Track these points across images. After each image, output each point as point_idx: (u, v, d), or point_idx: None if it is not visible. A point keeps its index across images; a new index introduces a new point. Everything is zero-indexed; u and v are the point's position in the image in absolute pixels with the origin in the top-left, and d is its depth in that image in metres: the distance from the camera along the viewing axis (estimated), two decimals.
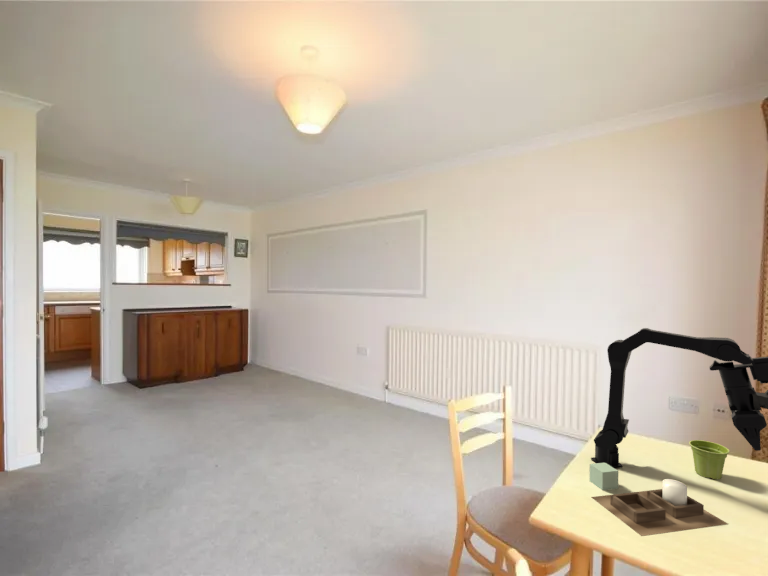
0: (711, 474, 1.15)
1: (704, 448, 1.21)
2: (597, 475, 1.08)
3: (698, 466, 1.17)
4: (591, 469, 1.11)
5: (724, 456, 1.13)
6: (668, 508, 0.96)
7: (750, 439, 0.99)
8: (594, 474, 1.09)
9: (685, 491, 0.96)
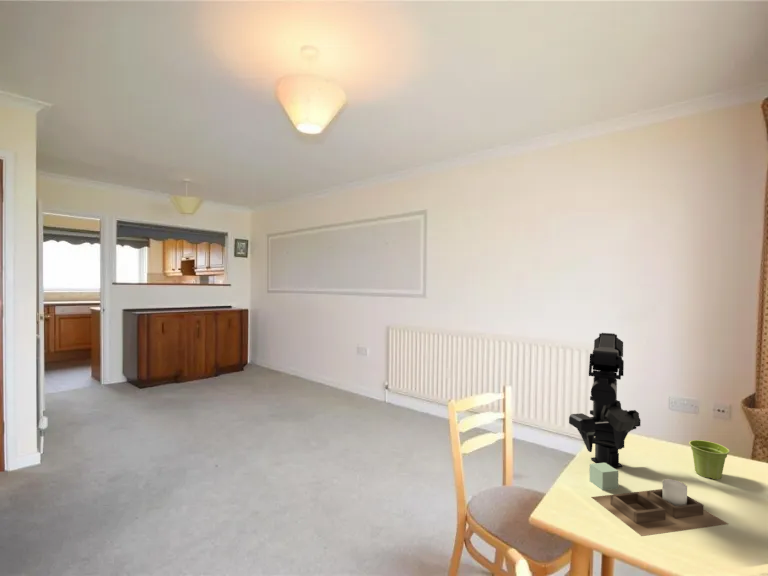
0: (711, 474, 1.15)
1: (704, 448, 1.21)
2: (597, 475, 1.08)
3: (698, 466, 1.17)
4: (591, 469, 1.11)
5: (724, 456, 1.13)
6: (668, 508, 0.96)
7: (584, 440, 1.09)
8: (594, 474, 1.09)
9: (685, 491, 0.96)
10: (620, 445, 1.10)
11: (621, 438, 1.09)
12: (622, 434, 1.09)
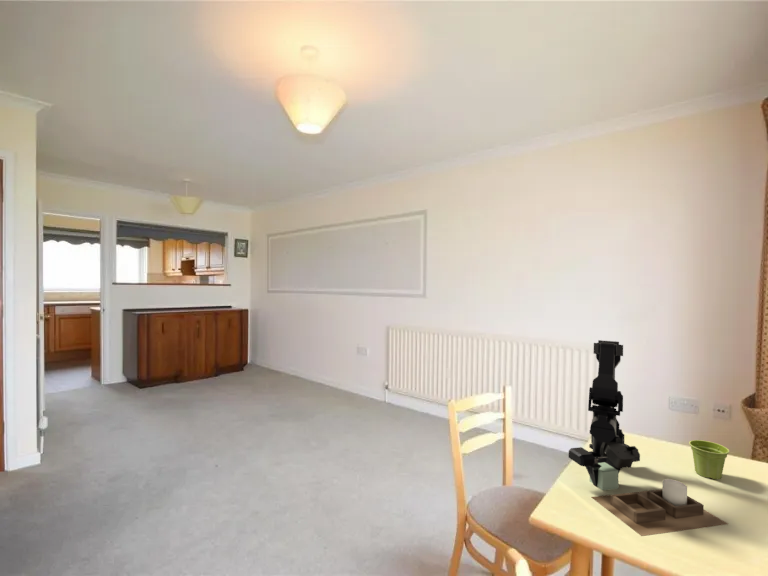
0: (711, 474, 1.15)
1: (704, 448, 1.21)
2: None
3: (698, 466, 1.17)
4: None
5: (724, 456, 1.13)
6: (668, 508, 0.96)
7: (590, 473, 1.10)
8: None
9: (685, 491, 0.96)
10: None
11: None
12: None
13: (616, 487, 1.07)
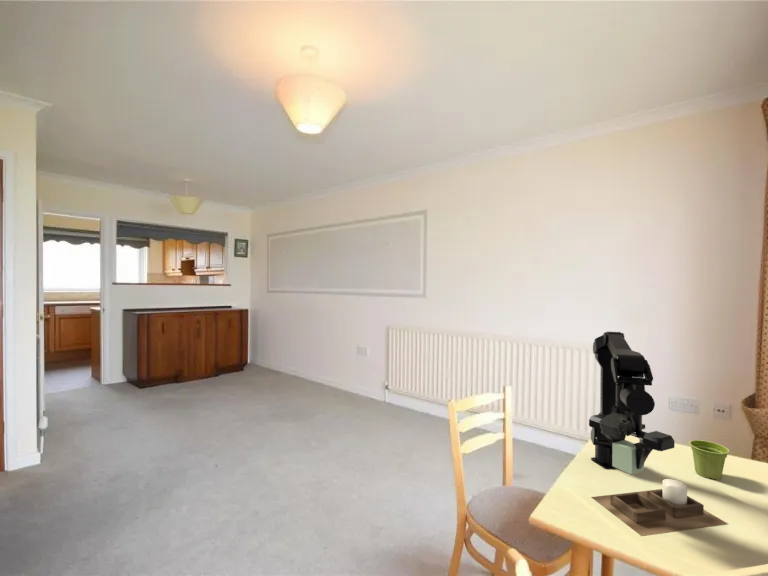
0: (711, 474, 1.15)
1: (704, 448, 1.21)
2: None
3: (698, 466, 1.17)
4: None
5: (724, 456, 1.13)
6: (668, 508, 0.96)
7: None
8: None
9: (685, 491, 0.96)
10: (637, 464, 0.96)
11: None
12: None
13: (629, 468, 0.96)
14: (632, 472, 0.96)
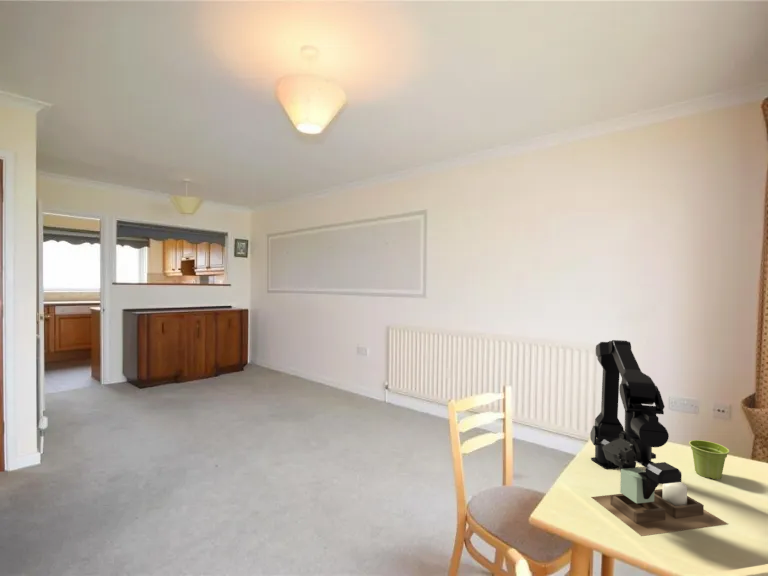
0: (711, 474, 1.15)
1: (704, 448, 1.21)
2: None
3: (698, 466, 1.17)
4: None
5: (724, 456, 1.13)
6: (668, 508, 0.96)
7: None
8: None
9: (685, 491, 0.96)
10: (644, 494, 0.94)
11: None
12: None
13: (634, 496, 0.94)
14: (637, 501, 0.94)
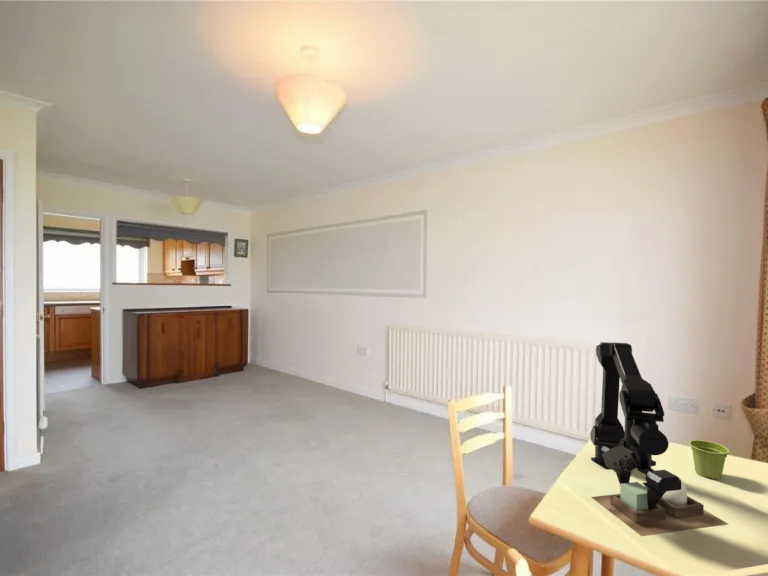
0: (711, 474, 1.15)
1: (704, 448, 1.21)
2: None
3: (698, 466, 1.17)
4: None
5: (724, 456, 1.13)
6: (668, 508, 0.96)
7: None
8: None
9: (685, 491, 0.96)
10: (648, 504, 0.92)
11: None
12: None
13: None
14: None
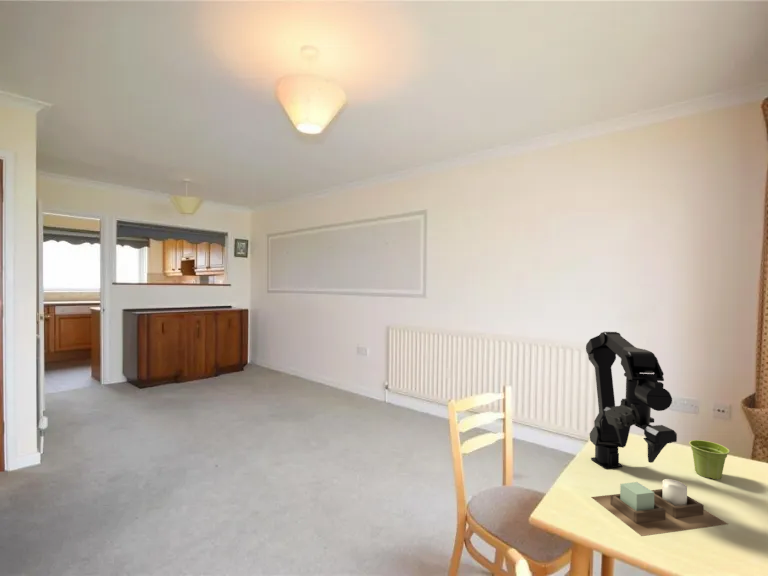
0: (711, 474, 1.15)
1: (704, 448, 1.21)
2: None
3: (698, 466, 1.17)
4: None
5: (724, 456, 1.13)
6: (668, 508, 0.96)
7: None
8: None
9: (685, 491, 0.96)
10: (648, 457, 1.01)
11: None
12: None
13: None
14: None
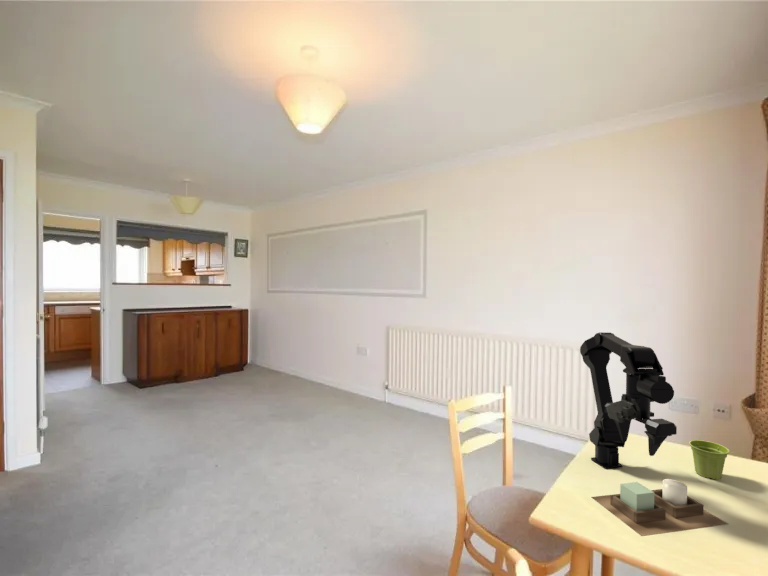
0: (711, 474, 1.15)
1: (704, 448, 1.21)
2: None
3: (698, 466, 1.17)
4: None
5: (724, 456, 1.13)
6: (668, 508, 0.96)
7: None
8: None
9: (685, 491, 0.96)
10: (649, 451, 1.03)
11: None
12: None
13: None
14: None
